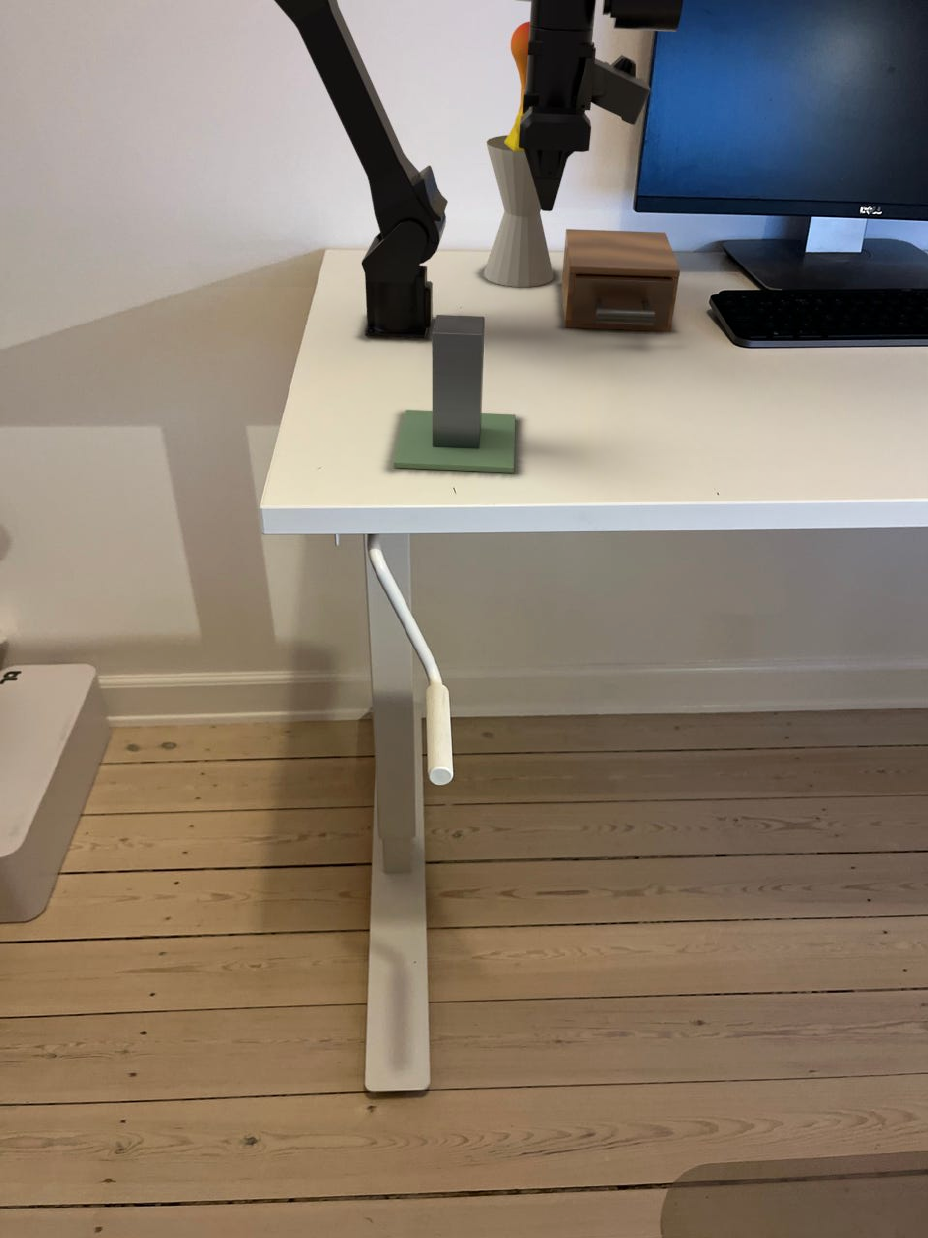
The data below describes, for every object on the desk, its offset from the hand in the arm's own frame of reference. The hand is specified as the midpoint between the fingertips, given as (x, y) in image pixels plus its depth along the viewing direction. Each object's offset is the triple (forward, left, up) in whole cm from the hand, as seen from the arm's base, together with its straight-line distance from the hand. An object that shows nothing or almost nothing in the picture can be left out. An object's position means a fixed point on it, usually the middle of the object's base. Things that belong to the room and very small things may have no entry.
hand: (547, 209), depth 95 cm
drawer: (+9, +5, -12) cm, 16 cm away
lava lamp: (-2, +19, -13) cm, 24 cm away
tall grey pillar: (-7, -26, -12) cm, 29 cm away
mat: (-7, -26, -13) cm, 29 cm away
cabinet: (+9, +9, -13) cm, 18 cm away
